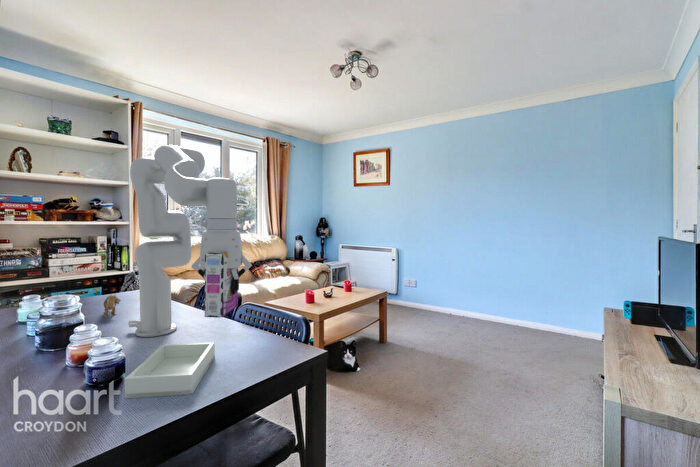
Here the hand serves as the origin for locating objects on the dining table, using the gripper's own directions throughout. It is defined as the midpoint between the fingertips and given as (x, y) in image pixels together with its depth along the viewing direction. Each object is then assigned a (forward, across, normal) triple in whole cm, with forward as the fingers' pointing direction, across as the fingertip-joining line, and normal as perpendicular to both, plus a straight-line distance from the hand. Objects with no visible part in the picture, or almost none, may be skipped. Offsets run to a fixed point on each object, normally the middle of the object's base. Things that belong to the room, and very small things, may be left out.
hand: (222, 293), depth 89 cm
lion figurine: (+21, -56, +58) cm, 83 cm away
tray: (+20, -11, -4) cm, 23 cm away
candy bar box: (+5, 0, 0) cm, 5 cm away
